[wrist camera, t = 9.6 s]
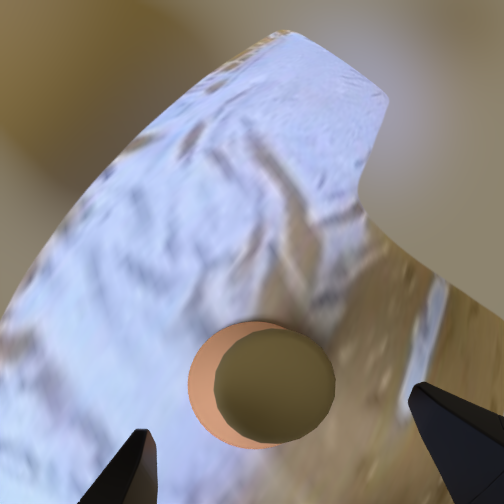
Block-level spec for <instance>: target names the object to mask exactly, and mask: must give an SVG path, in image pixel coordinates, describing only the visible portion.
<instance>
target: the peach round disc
mask: <svg viewBox="0 0 504 504" xmlns="http://www.w3.org/2000/svg"><path fill="white" fill-rule="evenodd" d="M270 328H274V329H285V328H283V327H281V326H278V325H275V324H271V323H266V322H244V323H238V324H235V325H232V326H229V327H227V328H224V329H222V330H221V331H219V332H217V333H216V334H214V335H213V336H212V337H211V338H209V339H208V340H207V341H206V342H205V343H204V344H203V345H202V347H201V348H200V349H199V351H198V352H197V354H196V356H195V358H194V360H193V362H192V365H191V367H190V371H189V376H188V394H189V400H190V403H191V406H192V409H193V411H194V413H195V415H196V417H197V418H198V420H199V421H200V423H201V424H202V425H203V426H204V427H205V429H206V430H207V431H209V432H210V433H211V434H212V435H213V436H215V437H216V438H218V439H219V440H221V441H223V442H225V443H227V444H230V445H233V446H236V447H240V448H246V449H264V448H269V447H274V446H277V445H280V444H268V443H259V442H256V441H253V440H251V439H248V438H245V437H243V436H241V435H240V434H239V433H238V432H236V431H235V430H234V429H233V428H231V427H230V426H229V425H228V424H227V423H226V421H225V420H224V418H223V416H222V415H221V413H220V412H219V410H218V408H217V404H216V400H215V395H214V391H213V389H214V380H215V371H216V369H217V367H218V365H219V363H220V361H221V359H222V357H223V355H224V354H225V353H226V351H227V350H228V349H229V348H230V347H231V346H232V345H233V344H234V343H235V342H236V341H237V340H239V339H241V338H243V337H245V336H247V335H248V334H250V333H252V332H255V331H260V330H265V329H270ZM286 330H287V329H286Z"/></svg>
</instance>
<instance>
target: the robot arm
mask: <svg viewBox="0 0 504 504" xmlns="http://www.w3.org/2000/svg"><path fill="white" fill-rule="evenodd" d="M408 405H409V408H410V410H411V413H412V415H413V418H414V420H415V423H416V425H417V428H418V430H419V433H420V435H421V437H422V439H423V441H424V443H425V445H426V447H427V449H428V451H429V453H430V455H431V457H432V459H433V461H434V463H435V465H436V466H437V468H438V470H439V472H440V474H441V476H442V478H443V481H444V483H445V485H446V487H447V489H448V491H449V493H450V495H451V497H452V499H453V501H454V504H504V417H503V416H501V415H498V414H496V413H494V412H491V411H489V410H487V409H484V408H482V407H480V406H477V405H475V404H473V403H471V402H468V401H466V400H464V399H462V398H459V397H457V396H455V395H453V394H451V393H448V392H446V391H444V390H442V389H440V388H438V387H435V386H433V385H431V384H429V383H427V382H421V383H418V384H416V385H414V387H413V389H412V392H411V394H410V397H409V399H408ZM157 493H158V479H157V450H156V444H155V441H154V439H153V437H152V435H151V433H150V431H149V430H148V429H135V430H134V432H133V433H132V434H131V435H130V437H129V438H128V439H127V441H126V442H125V443H124V444H123V446H122V447H121V448H120V450H119V451H118V452H117V454H116V455H115V456H114V457H113V459H112V460H111V461H110V463H109V464H108V465H107V466H106V468H105V469H104V470H103V471H102V473H101V474H100V475H99V477H98V478H97V479H96V480H95V482H94V483H93V484H92V485H91V487H90V488H89V489H88V490H87V492H86V493H85V494H84V496H83V497H82V498H81V499H80V502H78V503H77V504H157Z"/></svg>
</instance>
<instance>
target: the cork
mask: <svg viewBox="0 0 504 504" xmlns="http://www.w3.org/2000/svg"><path fill="white" fill-rule="evenodd" d="M335 381H336V379H335V375H334V372H333V368H332V364H331V362H330V360H329V359H328V357H327V356H326V354H325V352H324V351H323V349H322V348H321V347H320V346H319V345H317V344H316V343H315V342H314V341H312V340H311V339H310V338H309V337H307V336H305V335H302V334H300V333H297V332H295V331H292V330H286V329H274V328H270V329H265V330H260V331H255V332H252V333H250V334H248V335H247V336H245V337H243V338H241V339H239V340H237V341H236V342H235V343H234V344H233V345H232V346H231V347H230V348H229V349H228V350H227V351H226V353H225V354H224V355H223V357H222V359H221V361H220V363H219V365H218V367H217V369H216V371H215V380H214V389H213V391H214V395H215V400H216V404H217V408H218V410H219V412H220V413H221V415H222V416H223V418H224V420H225V421H226V423H227V424H228V425H229V426H230V427H231V428H233V429H234V430H235V431H236V432H238V433H239V434H240V435H241V436H243V437H245V438H248V439H251V440H253V441H256V442H259V443H268V444H282V443H286V442H289V441H293V440H297V439H300V438H302V437H303V436H305V435H306V434H308V433H309V432H311V431H312V430H314V429H315V428H317V427H318V425H319V424H320V423H321V422H322V421H323V419H324V418H325V417H326V416H327V414H328V413H329V410H330V407H331V405H332V402H333V400H334V397H335Z"/></svg>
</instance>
